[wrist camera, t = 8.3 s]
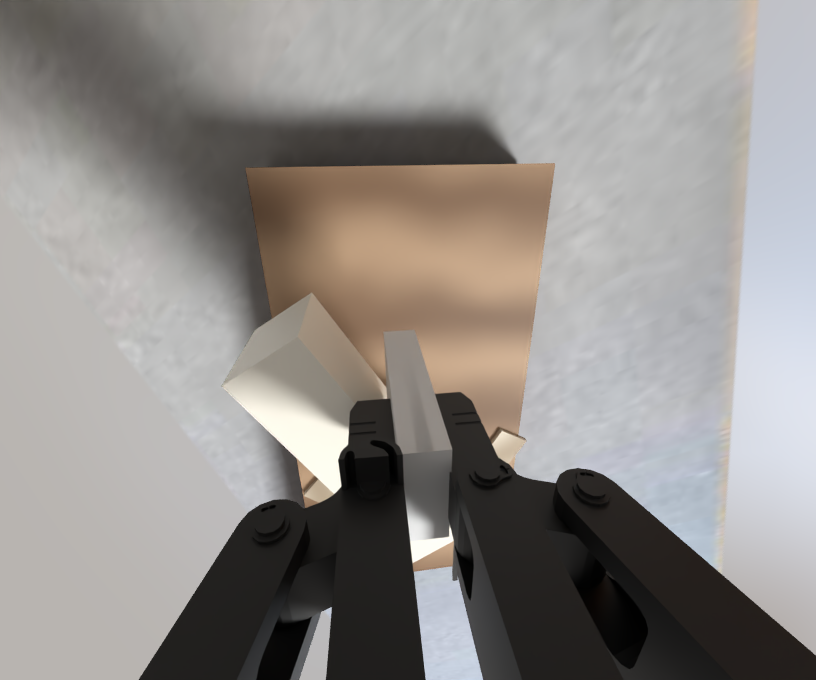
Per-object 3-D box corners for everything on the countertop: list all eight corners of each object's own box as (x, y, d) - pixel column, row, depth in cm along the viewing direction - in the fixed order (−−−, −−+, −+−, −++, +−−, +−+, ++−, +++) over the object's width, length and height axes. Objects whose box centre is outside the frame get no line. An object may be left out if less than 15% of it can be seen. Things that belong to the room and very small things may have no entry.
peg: (277, 293, 18) (221, 386, 10) (321, 263, 18) (297, 337, 10) (445, 495, 25) (487, 640, 18) (479, 477, 25) (536, 616, 17)
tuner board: (264, 167, 20) (243, 167, 16) (528, 164, 21) (567, 163, 17) (322, 537, 31) (318, 589, 27) (490, 515, 33) (508, 561, 29)
